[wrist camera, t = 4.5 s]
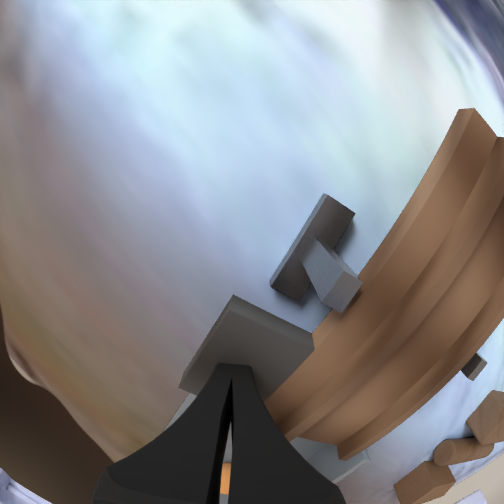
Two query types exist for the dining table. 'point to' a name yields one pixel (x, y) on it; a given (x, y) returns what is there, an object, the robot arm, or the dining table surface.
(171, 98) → the dining table surface
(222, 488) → the ball
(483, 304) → the wooden rack
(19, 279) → the dining table surface
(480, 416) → the wooden block set
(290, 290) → the lever stand
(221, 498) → the tray
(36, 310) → the dining table surface
